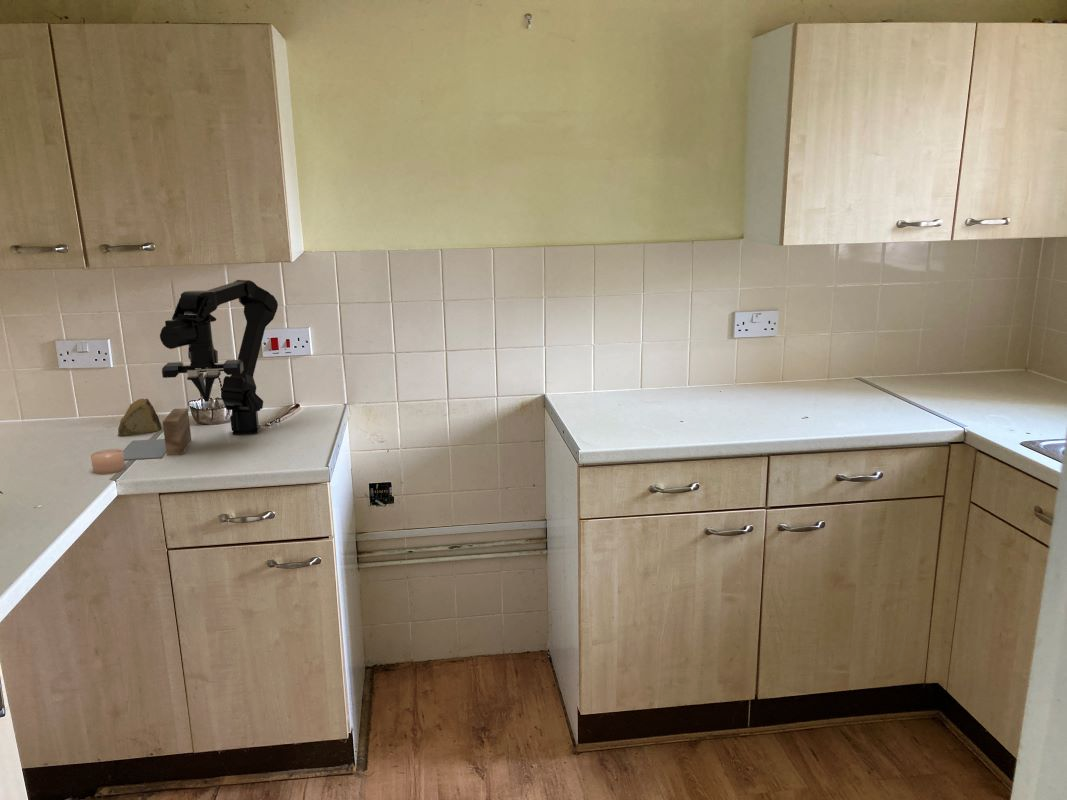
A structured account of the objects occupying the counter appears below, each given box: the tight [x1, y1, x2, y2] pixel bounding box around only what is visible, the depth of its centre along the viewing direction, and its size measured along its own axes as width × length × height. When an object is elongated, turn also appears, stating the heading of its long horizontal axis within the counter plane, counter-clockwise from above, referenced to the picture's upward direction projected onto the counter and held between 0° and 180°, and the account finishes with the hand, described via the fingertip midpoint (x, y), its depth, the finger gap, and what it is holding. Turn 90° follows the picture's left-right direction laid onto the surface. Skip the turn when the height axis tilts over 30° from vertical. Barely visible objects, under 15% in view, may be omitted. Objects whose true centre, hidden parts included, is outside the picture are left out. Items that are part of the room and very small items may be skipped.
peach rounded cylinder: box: [90, 448, 126, 475], centre depth 201 cm, size 7×7×4 cm
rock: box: [117, 398, 163, 437], centre depth 230 cm, size 11×9×10 cm
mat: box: [122, 438, 167, 461], centre depth 215 cm, size 11×16×1 cm
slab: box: [162, 407, 192, 457], centre depth 216 cm, size 4×12×9 cm, turn 10°
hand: (207, 401), depth 215 cm, fingers closed
